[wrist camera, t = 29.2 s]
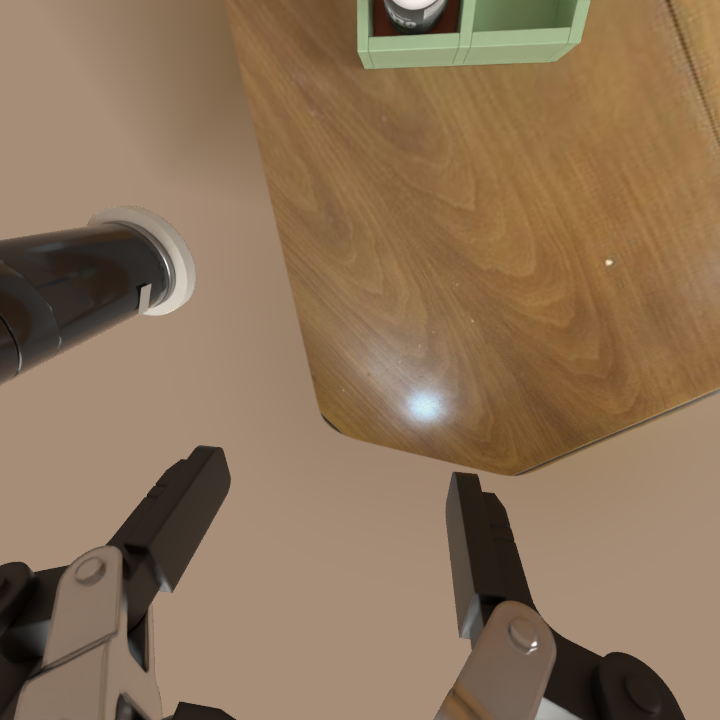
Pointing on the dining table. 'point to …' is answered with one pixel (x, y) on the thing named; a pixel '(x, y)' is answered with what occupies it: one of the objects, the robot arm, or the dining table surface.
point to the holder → (474, 34)
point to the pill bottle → (414, 15)
